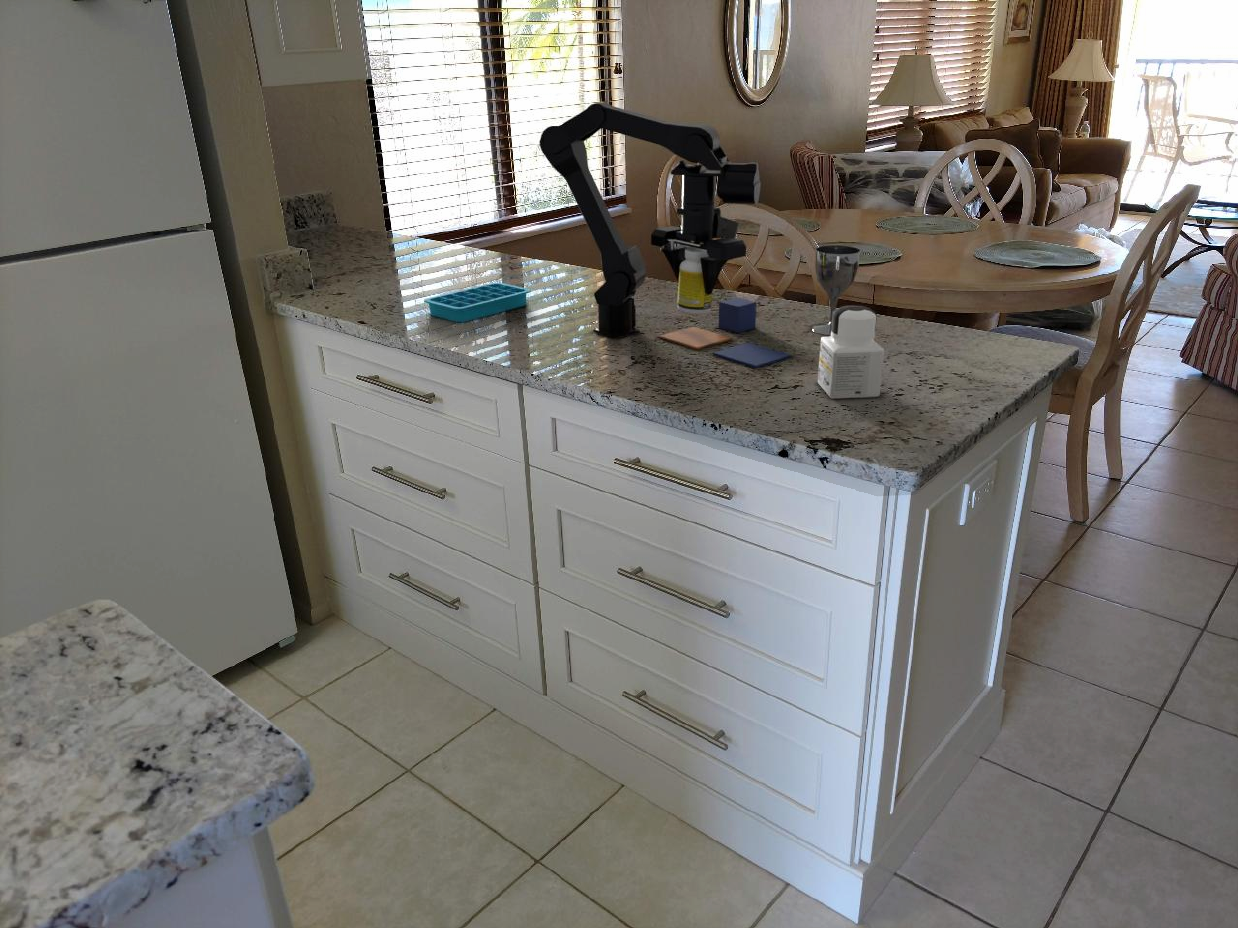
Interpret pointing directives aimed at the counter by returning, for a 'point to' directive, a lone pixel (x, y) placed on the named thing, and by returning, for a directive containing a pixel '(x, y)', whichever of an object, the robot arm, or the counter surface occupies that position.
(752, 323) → the navy block
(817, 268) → the wine glass
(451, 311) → the ice cube tray
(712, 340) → the amber mat
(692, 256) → the pill bottle
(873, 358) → the container
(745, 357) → the navy mat
